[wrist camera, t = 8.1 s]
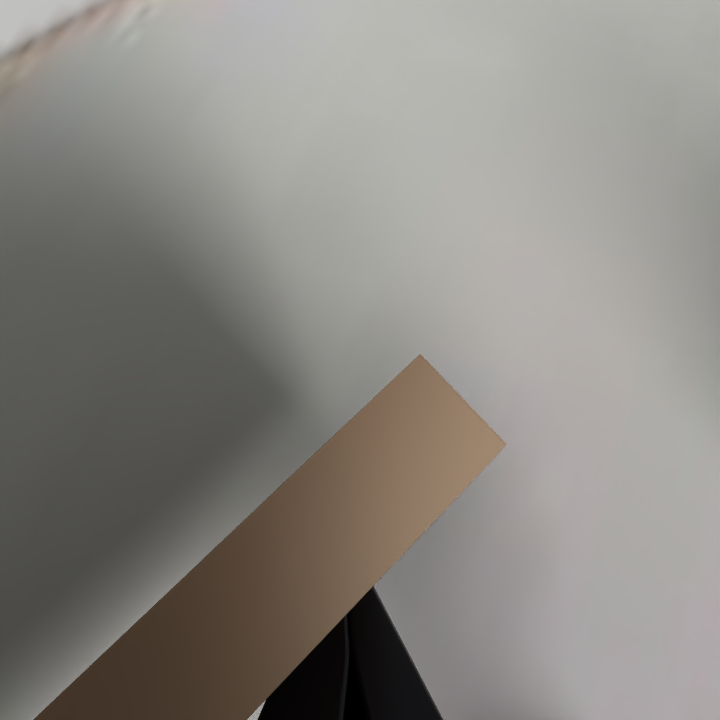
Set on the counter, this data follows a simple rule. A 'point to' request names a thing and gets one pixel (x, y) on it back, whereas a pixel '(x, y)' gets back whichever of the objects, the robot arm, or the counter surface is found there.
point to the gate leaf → (292, 563)
